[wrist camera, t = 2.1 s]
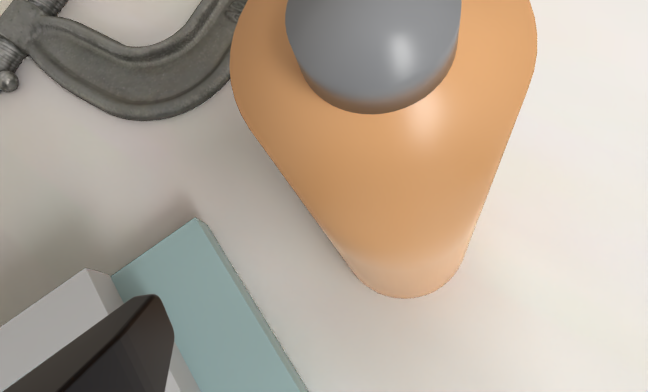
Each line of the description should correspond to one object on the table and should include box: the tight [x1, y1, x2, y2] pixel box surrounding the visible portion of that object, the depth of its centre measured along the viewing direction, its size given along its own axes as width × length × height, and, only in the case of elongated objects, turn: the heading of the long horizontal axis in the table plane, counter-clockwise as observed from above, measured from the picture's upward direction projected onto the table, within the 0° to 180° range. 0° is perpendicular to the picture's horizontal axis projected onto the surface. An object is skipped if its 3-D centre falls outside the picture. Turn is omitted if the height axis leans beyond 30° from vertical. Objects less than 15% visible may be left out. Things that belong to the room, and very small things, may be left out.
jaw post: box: [229, 0, 537, 299], centre depth 13 cm, size 5×5×13 cm
